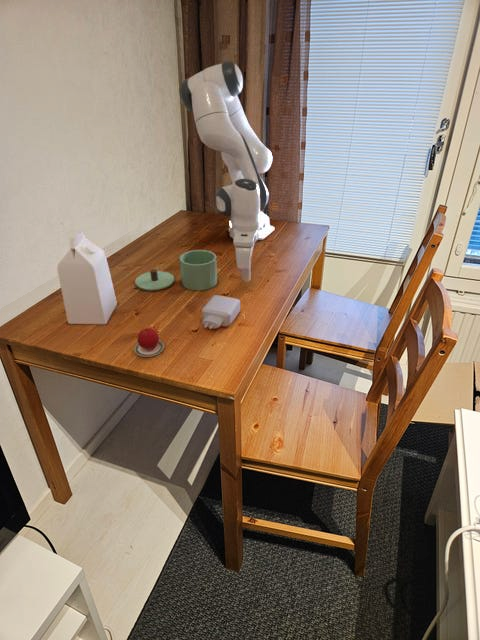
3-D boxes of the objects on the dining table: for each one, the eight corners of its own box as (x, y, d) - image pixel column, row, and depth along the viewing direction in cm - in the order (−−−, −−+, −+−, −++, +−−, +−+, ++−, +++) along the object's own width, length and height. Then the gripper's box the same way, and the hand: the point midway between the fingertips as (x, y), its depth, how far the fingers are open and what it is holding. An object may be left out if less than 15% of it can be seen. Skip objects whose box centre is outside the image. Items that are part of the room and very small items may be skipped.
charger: (193, 332, 120) (213, 307, 132) (222, 338, 117) (240, 312, 129) (192, 318, 117) (212, 294, 129) (222, 324, 115) (240, 299, 127)
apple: (128, 354, 111) (125, 334, 108) (144, 338, 117) (141, 319, 114) (154, 360, 109) (151, 340, 105) (169, 344, 115) (167, 324, 111)
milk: (82, 303, 134) (63, 226, 120) (117, 303, 134) (102, 226, 120) (68, 323, 124) (46, 242, 110) (105, 324, 124) (88, 242, 109)
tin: (198, 270, 154) (196, 247, 149) (224, 280, 148) (223, 255, 142) (174, 283, 146) (171, 258, 140) (200, 293, 139) (199, 268, 134)
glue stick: (245, 276, 146) (245, 254, 141) (252, 279, 144) (252, 256, 139) (240, 280, 144) (239, 257, 139) (247, 282, 142) (247, 259, 137)
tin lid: (156, 270, 154) (154, 259, 151) (182, 281, 147) (181, 269, 145) (127, 284, 145) (125, 272, 142) (153, 295, 138) (152, 283, 135)
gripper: (240, 220, 143) (240, 256, 151) (232, 243, 126) (233, 283, 134) (258, 221, 143) (257, 257, 150) (252, 244, 126) (252, 284, 133)
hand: (246, 270), depth 142 cm, fingers closed on glue stick, 3 cm apart
